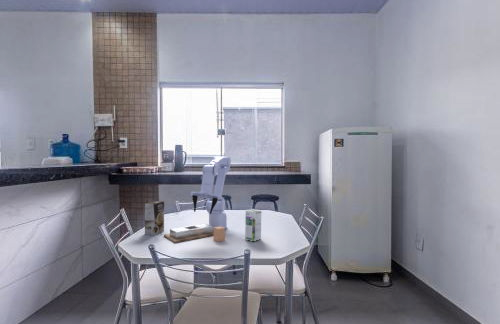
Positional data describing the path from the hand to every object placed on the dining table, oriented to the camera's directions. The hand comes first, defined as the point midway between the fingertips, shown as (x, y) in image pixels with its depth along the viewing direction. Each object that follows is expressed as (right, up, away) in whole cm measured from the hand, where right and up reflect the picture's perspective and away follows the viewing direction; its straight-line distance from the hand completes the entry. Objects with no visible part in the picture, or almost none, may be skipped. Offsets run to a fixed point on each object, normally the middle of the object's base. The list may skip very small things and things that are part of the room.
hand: (202, 212), depth 134 cm
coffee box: (-28, -13, +13) cm, 33 cm away
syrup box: (+24, -14, +1) cm, 28 cm away
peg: (+8, -14, 0) cm, 16 cm away
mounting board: (-7, -13, +8) cm, 17 cm away
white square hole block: (-7, -13, +8) cm, 17 cm away
